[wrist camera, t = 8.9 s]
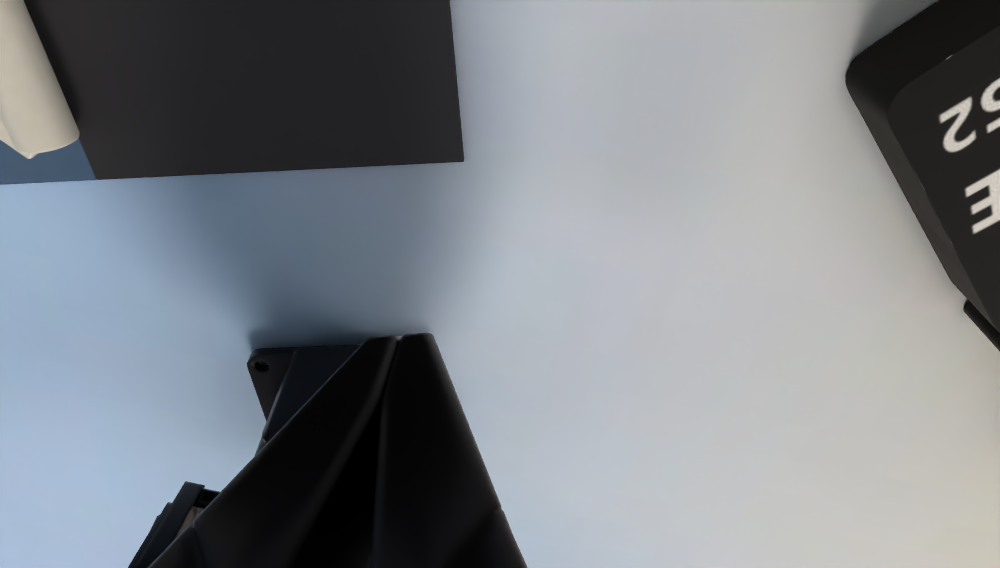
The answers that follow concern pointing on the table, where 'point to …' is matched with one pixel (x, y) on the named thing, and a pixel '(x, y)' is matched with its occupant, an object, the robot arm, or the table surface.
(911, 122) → the decorative sign
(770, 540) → the table surface
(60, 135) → the hanger
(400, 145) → the mat
